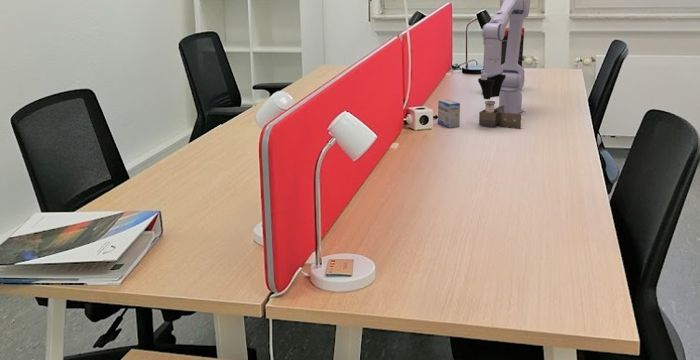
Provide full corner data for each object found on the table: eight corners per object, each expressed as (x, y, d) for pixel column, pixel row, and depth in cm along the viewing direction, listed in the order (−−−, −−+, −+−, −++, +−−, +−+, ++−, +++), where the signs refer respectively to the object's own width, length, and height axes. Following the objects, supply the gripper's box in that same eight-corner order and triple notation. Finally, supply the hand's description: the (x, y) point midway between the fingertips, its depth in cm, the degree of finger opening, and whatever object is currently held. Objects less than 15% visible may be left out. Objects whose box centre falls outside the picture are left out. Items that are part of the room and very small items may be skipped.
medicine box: (437, 123, 275) (437, 100, 272) (448, 122, 277) (448, 98, 274) (449, 128, 268) (449, 104, 266) (459, 126, 270) (460, 102, 267)
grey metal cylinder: (486, 123, 274) (487, 100, 271) (496, 124, 272) (496, 101, 269) (482, 125, 271) (483, 102, 269) (492, 126, 269) (492, 103, 267)
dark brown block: (495, 118, 281) (495, 104, 280) (510, 119, 278) (511, 106, 277) (479, 125, 270) (479, 112, 269) (495, 127, 267) (495, 113, 266)
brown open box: (486, 122, 275) (486, 108, 274) (523, 126, 268) (524, 112, 266) (479, 125, 270) (479, 112, 269) (516, 130, 263) (517, 116, 261)
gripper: (490, 54, 272) (489, 92, 276) (473, 60, 260) (472, 99, 264) (509, 55, 268) (507, 94, 272) (492, 61, 257) (491, 101, 261)
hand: (491, 97), depth 268 cm, fingers open, 7 cm apart
